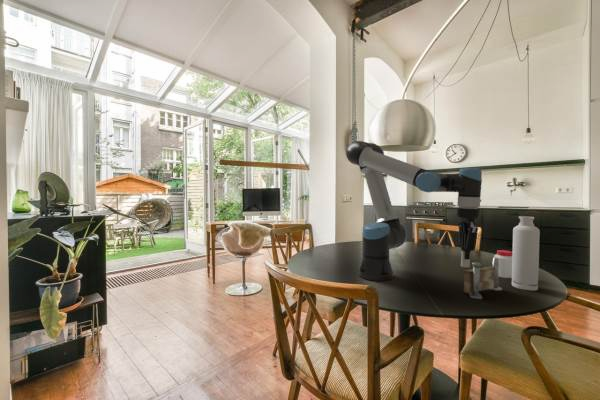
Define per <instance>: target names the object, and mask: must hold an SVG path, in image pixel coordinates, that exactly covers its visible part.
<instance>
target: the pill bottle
mask: <svg viewBox="0 0 600 400" xmlns="http://www.w3.org/2000/svg"><path fill="white" fill-rule="evenodd" d="M493 258H498V259H499V274H498V278H504V279H512V251H511V250H505V249H504V250H503V249H499V250H498V249H497V250H496V254H494V255H493Z"/></svg>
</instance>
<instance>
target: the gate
mask: <svg viewBox="0 0 600 400" xmlns="http://www.w3.org/2000/svg"><path fill="white" fill-rule="evenodd" d="M494 270H495V268H494V267H492V266H485V267H480V273H479V292H480V291H485V290H491V289H490V288H494ZM463 272H464V273H463V275H464V276H463V292H464V293H467V294H469V293H472V290H473V268H472V269H464V271H463Z"/></svg>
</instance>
